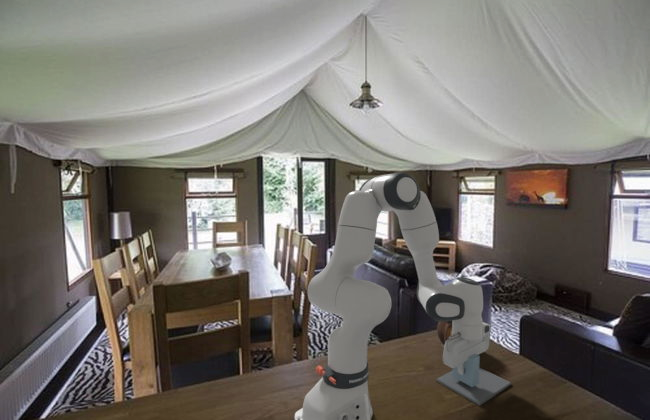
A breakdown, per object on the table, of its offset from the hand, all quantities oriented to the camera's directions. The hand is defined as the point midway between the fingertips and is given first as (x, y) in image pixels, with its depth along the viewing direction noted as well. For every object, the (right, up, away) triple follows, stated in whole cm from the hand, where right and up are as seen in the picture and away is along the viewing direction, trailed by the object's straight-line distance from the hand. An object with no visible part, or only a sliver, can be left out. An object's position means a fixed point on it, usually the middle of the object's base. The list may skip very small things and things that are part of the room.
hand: (466, 370), depth 106 cm
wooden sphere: (+7, -4, +24) cm, 25 cm away
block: (0, -3, 0) cm, 3 cm away
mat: (+3, -5, +2) cm, 6 cm away
